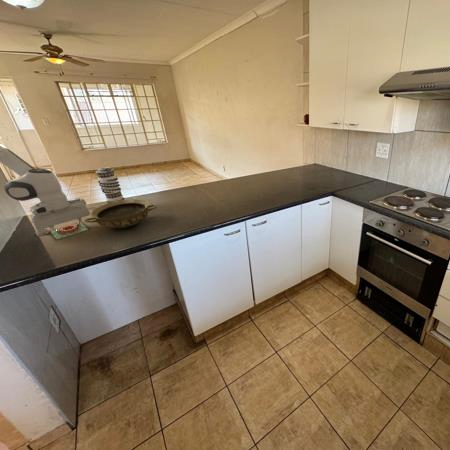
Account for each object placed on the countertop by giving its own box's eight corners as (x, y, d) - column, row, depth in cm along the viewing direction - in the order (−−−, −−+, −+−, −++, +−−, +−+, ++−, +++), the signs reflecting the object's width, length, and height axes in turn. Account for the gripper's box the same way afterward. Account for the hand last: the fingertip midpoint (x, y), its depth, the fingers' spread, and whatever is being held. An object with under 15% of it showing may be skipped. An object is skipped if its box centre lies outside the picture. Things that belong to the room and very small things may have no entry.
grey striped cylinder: (129, 206, 149) (115, 165, 137) (127, 211, 142) (112, 168, 130) (111, 208, 145) (95, 166, 134) (108, 214, 138) (91, 170, 126)
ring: (62, 235, 117) (61, 232, 116) (58, 231, 120) (57, 228, 120) (80, 229, 121) (79, 227, 121) (76, 225, 125) (75, 223, 124)
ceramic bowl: (91, 244, 110) (81, 225, 105) (91, 225, 127) (83, 207, 122) (164, 225, 126) (159, 208, 121) (155, 210, 143) (151, 194, 138)
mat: (57, 240, 114) (56, 239, 113) (50, 232, 120) (50, 231, 120) (88, 230, 122) (88, 229, 122) (81, 223, 129) (80, 222, 128)
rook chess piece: (46, 231, 121) (38, 216, 118) (51, 233, 120) (43, 218, 116) (35, 235, 118) (26, 220, 114) (39, 237, 116) (30, 222, 112)
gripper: (81, 195, 123) (92, 220, 130) (24, 208, 109) (40, 235, 115) (85, 198, 120) (96, 223, 126) (27, 212, 105) (43, 240, 112)
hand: (69, 229), depth 121 cm, fingers closed on ring, 7 cm apart
